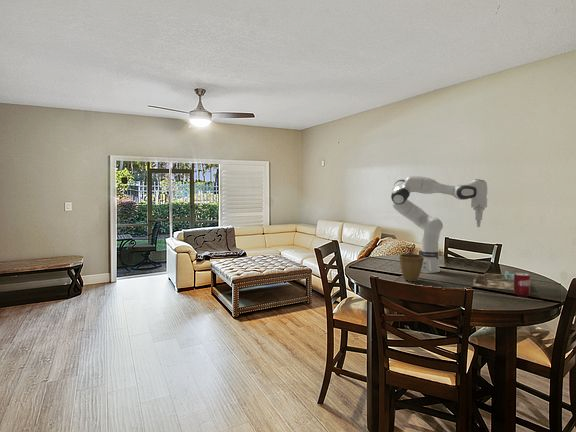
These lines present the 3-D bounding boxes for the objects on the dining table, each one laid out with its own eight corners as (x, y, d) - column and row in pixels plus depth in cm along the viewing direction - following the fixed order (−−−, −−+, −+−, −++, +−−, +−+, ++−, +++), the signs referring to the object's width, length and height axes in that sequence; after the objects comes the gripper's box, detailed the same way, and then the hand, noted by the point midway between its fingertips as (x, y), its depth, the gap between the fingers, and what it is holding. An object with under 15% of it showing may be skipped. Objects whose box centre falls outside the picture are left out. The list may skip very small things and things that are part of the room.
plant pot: (406, 283, 208) (406, 258, 207) (394, 277, 223) (395, 254, 222) (428, 282, 210) (428, 257, 209) (415, 276, 225) (416, 253, 224)
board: (473, 287, 198) (473, 277, 197) (473, 280, 213) (473, 271, 212) (522, 293, 186) (522, 282, 186) (519, 285, 201) (519, 275, 200)
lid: (505, 279, 191) (506, 275, 191) (504, 274, 203) (504, 270, 203) (523, 281, 187) (523, 276, 187) (520, 276, 199) (520, 271, 199)
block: (475, 282, 203) (475, 275, 202) (475, 281, 206) (475, 273, 206) (484, 283, 200) (484, 276, 200) (484, 282, 204) (484, 274, 204)
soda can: (510, 294, 184) (510, 272, 184) (522, 293, 185) (523, 272, 184) (520, 298, 177) (521, 275, 176) (533, 297, 178) (534, 275, 177)
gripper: (485, 205, 204) (484, 228, 205) (484, 204, 222) (484, 225, 223) (473, 205, 207) (472, 227, 208) (473, 204, 225) (473, 224, 226)
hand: (478, 226), depth 216 cm, fingers open, 8 cm apart
